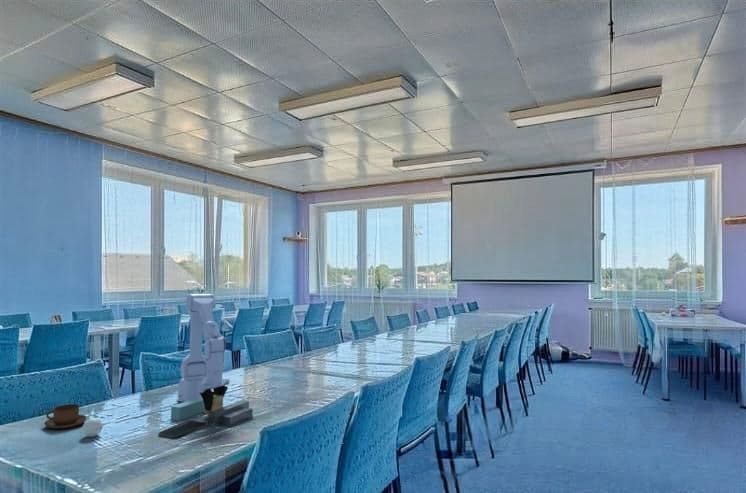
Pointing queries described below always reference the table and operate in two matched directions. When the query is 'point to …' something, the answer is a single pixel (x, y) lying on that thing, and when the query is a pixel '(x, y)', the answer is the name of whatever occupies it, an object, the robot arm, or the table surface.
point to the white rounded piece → (92, 427)
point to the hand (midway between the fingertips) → (213, 408)
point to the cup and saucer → (64, 417)
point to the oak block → (215, 403)
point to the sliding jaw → (187, 409)
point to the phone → (182, 429)
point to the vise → (230, 414)
